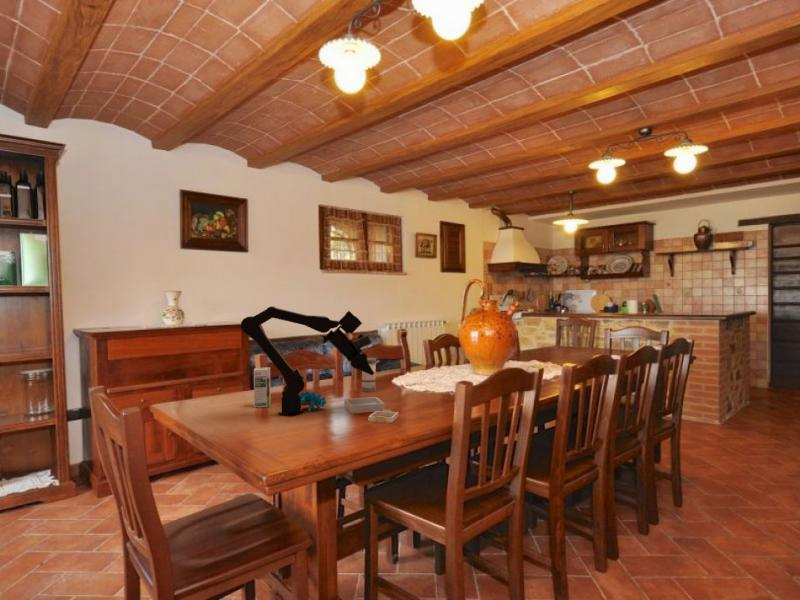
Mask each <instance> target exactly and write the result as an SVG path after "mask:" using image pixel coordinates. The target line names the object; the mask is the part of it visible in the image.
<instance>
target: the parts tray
mask: <svg viewBox="0 0 800 600" xmlns="http://www.w3.org/2000/svg"><path fill="white" fill-rule="evenodd" d="M343 402H344V405H343V406H344V408H346V410H347V411H348V412H349V413H350V414H360V413H362V414H363V413H374V412H375V411H383V410H386V404H385V402H383V401H382V400H381V399H380V398H379V397H376V396H371V397H358V398H345V399H344V400H343Z"/></svg>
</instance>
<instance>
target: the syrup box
mask: <svg viewBox="0 0 800 600" xmlns="http://www.w3.org/2000/svg"><path fill="white" fill-rule="evenodd" d="M270 406H271V367H270V366H269V367H255V368H254V369H253V408H254V409H256V407H257V408H270Z"/></svg>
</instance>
